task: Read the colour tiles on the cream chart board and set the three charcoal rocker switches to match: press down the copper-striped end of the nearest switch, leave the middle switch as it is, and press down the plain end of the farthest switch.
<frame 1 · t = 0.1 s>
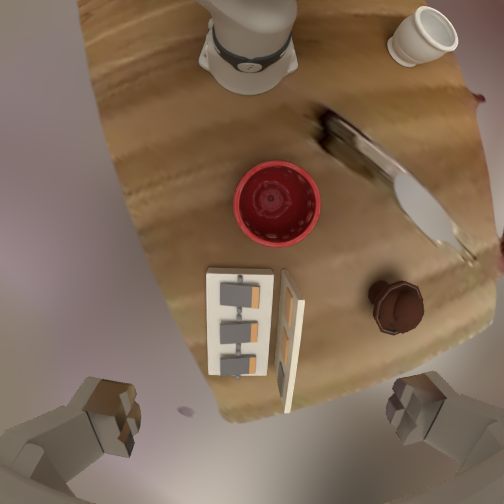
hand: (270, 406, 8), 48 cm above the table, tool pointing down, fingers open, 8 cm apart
plant pot: (269, 200, 54), on the table
ice cream bowl: (379, 292, 60), on the table
switch middle: (238, 333, 54), point 5 cm above the table, hinge at -10.0°
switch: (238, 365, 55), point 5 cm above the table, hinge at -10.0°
switch unit: (238, 320, 59), on the table
jar: (402, 52, 48), on the table
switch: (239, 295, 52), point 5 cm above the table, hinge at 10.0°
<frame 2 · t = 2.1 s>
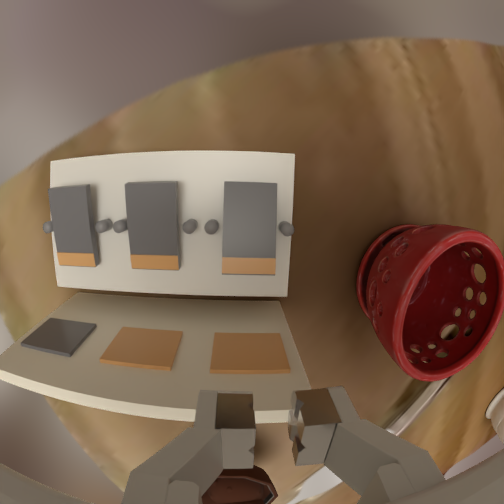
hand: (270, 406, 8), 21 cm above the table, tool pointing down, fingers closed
plant pot: (394, 272, 30), on the table
ice cream bowl: (230, 442, 34), on the table
switch middle: (152, 226, 22), point 5 cm above the table, hinge at -10.0°
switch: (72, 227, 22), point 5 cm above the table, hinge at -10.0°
switch unit: (168, 218, 27), on the table
jar: (497, 401, 38), on the table
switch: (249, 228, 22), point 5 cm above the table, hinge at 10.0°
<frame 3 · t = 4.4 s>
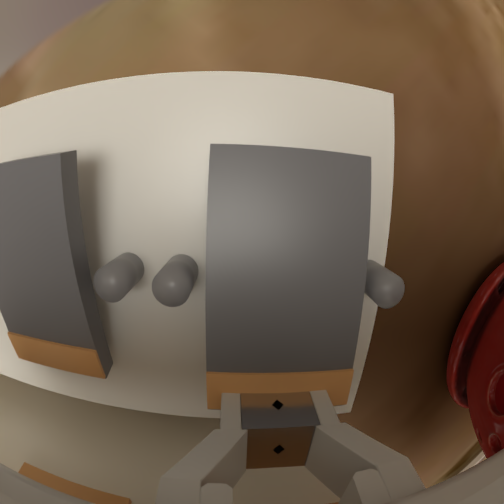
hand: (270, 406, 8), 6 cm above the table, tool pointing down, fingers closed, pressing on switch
plant pot: (492, 324, 15), on the table
switch middle: (32, 276, 7), point 5 cm above the table, hinge at -10.0°
switch unit: (102, 241, 12), on the table
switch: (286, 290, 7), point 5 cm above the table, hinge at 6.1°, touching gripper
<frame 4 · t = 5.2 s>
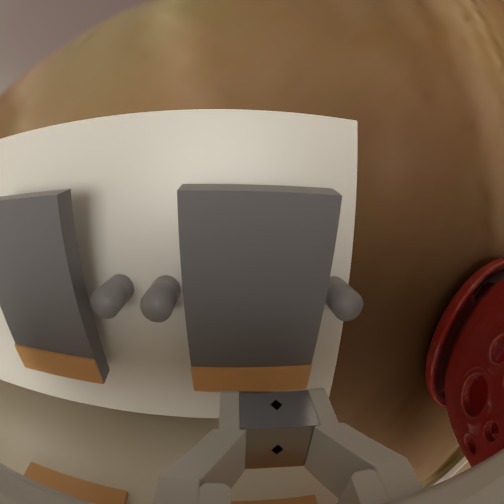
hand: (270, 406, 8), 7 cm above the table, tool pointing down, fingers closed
plant pot: (471, 327, 16), on the table
switch middle: (37, 296, 8), point 5 cm above the table, hinge at -10.0°
switch unit: (96, 259, 13), on the table
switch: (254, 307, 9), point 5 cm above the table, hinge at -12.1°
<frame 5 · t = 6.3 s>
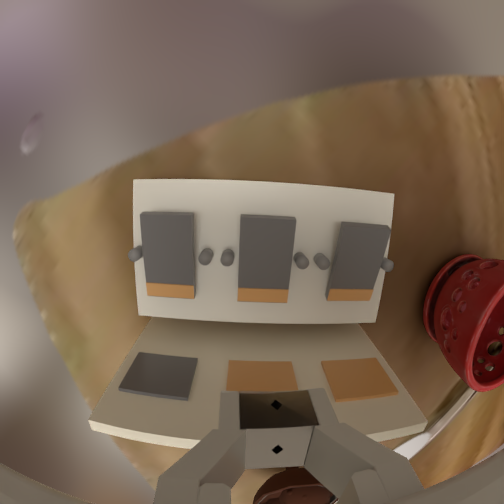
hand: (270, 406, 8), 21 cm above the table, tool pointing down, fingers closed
plant pot: (451, 294, 30), on the table
ice cream bowl: (289, 451, 35), on the table
switch middle: (265, 261, 23), point 5 cm above the table, hinge at -10.0°
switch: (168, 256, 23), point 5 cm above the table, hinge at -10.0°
switch unit: (261, 246, 28), on the table
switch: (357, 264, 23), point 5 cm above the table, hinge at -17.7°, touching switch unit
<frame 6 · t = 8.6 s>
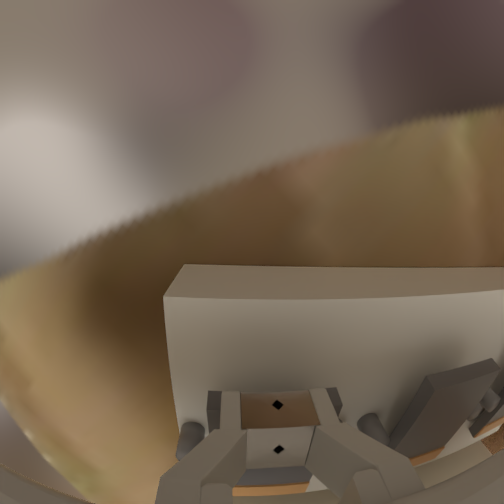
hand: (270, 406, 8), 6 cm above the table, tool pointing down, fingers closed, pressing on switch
switch middle: (432, 427, 9), point 5 cm above the table, hinge at -10.0°
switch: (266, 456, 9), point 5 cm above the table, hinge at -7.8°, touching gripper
switch unit: (387, 367, 15), on the table
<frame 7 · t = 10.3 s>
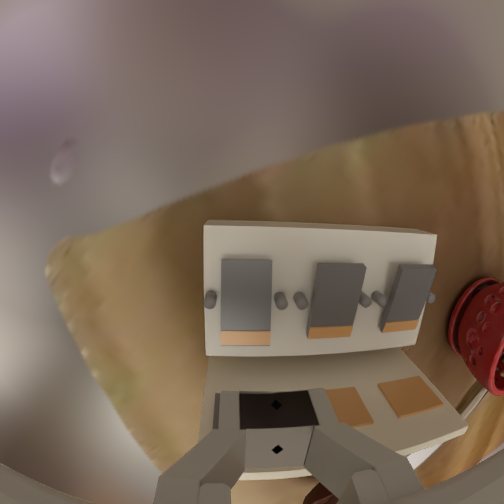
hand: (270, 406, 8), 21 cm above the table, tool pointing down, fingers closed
plant pot: (470, 312, 32), on the table
ice cream bowl: (327, 459, 36), on the table
switch middle: (335, 303, 24), point 5 cm above the table, hinge at -10.0°
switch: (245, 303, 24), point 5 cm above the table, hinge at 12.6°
switch unit: (318, 282, 29), on the table
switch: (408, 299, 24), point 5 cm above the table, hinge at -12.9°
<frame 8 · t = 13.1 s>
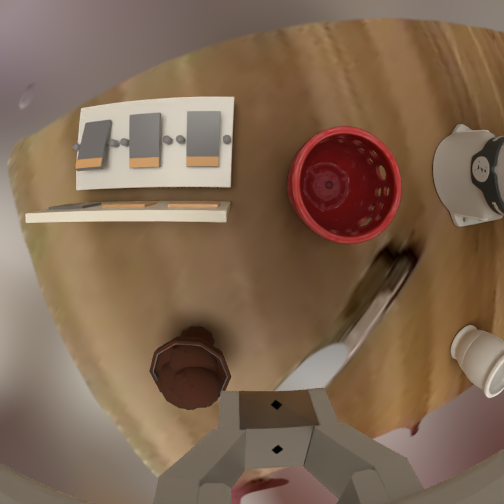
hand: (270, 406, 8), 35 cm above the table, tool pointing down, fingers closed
plant pot: (321, 184, 41), on the table
ice cream bowl: (197, 340, 46), on the table
switch middle: (144, 140, 33), point 5 cm above the table, hinge at -10.0°
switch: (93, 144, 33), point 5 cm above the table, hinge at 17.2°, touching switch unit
switch unit: (155, 145, 39), on the table
jar: (462, 341, 50), on the table
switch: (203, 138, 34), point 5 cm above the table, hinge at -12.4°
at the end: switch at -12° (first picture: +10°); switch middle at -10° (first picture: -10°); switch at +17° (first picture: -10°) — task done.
